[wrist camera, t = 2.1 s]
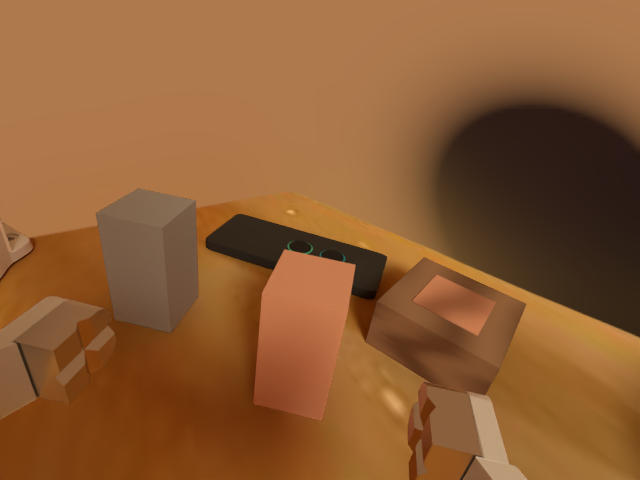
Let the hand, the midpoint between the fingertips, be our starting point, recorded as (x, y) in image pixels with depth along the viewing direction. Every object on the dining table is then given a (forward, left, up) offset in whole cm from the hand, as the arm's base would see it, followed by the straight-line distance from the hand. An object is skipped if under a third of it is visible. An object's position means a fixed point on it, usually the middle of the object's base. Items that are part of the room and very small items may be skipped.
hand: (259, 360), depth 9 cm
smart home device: (-18, +24, -17) cm, 34 cm away
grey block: (-20, +8, -16) cm, 27 cm away
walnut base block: (0, +24, -16) cm, 29 cm away
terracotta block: (-6, +11, -16) cm, 20 cm away
